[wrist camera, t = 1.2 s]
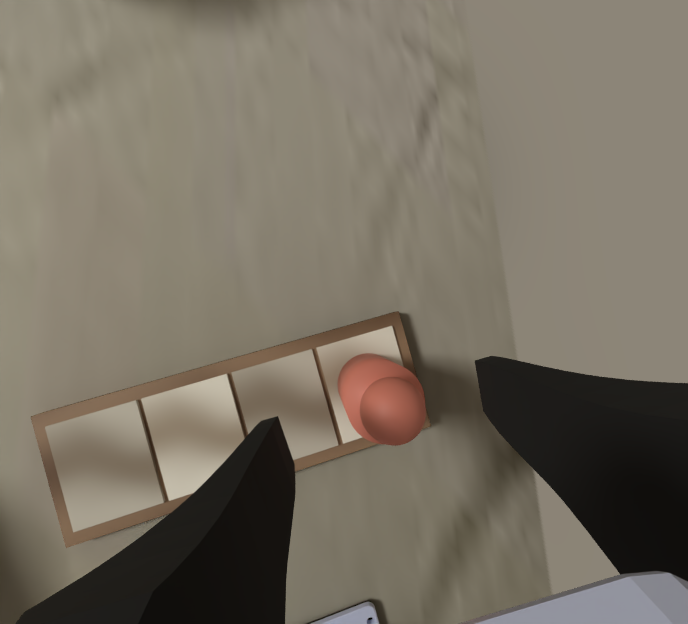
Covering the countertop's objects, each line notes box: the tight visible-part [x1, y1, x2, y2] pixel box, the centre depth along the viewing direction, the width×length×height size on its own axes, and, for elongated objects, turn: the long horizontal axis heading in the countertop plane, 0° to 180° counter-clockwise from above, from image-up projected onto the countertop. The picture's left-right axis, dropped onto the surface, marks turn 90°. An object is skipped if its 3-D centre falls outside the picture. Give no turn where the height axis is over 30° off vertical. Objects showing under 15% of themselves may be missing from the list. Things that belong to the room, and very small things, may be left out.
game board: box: [31, 311, 431, 548], centre depth 20 cm, size 8×23×1 cm, turn 106°
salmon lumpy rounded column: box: [338, 353, 426, 445], centre depth 17 cm, size 4×4×8 cm
